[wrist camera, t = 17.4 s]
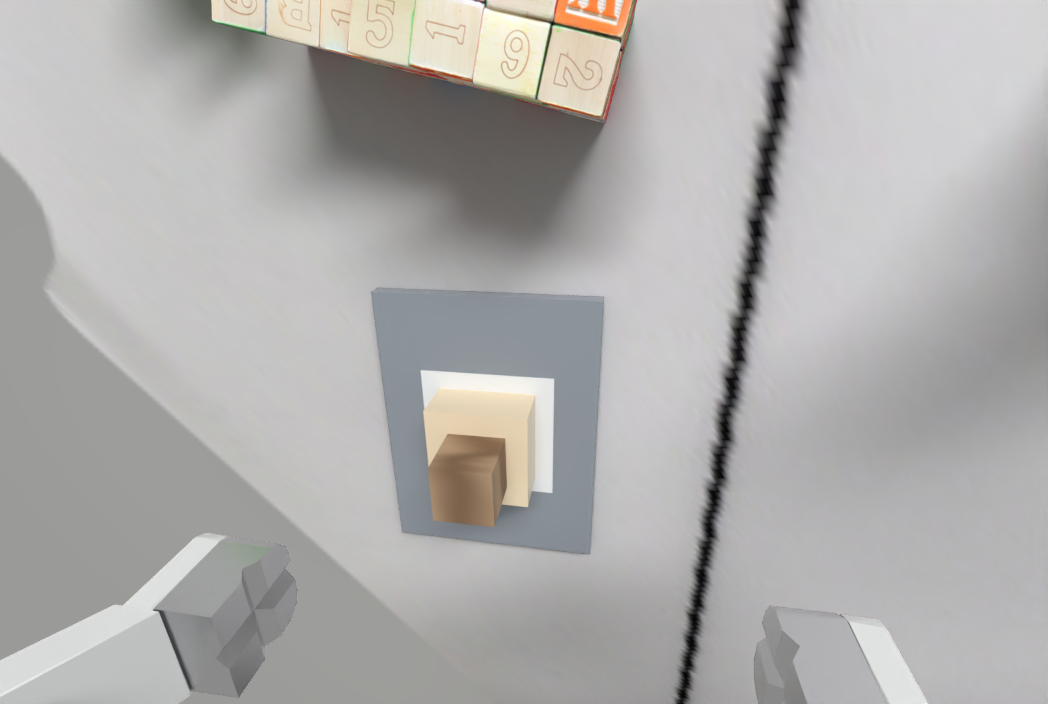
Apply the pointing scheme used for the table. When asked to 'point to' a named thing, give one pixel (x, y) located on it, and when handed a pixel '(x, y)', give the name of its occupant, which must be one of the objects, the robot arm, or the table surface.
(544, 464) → the board
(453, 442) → the walnut cube
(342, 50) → the stack of blocks
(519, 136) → the table surface
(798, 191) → the table surface
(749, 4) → the table surface
